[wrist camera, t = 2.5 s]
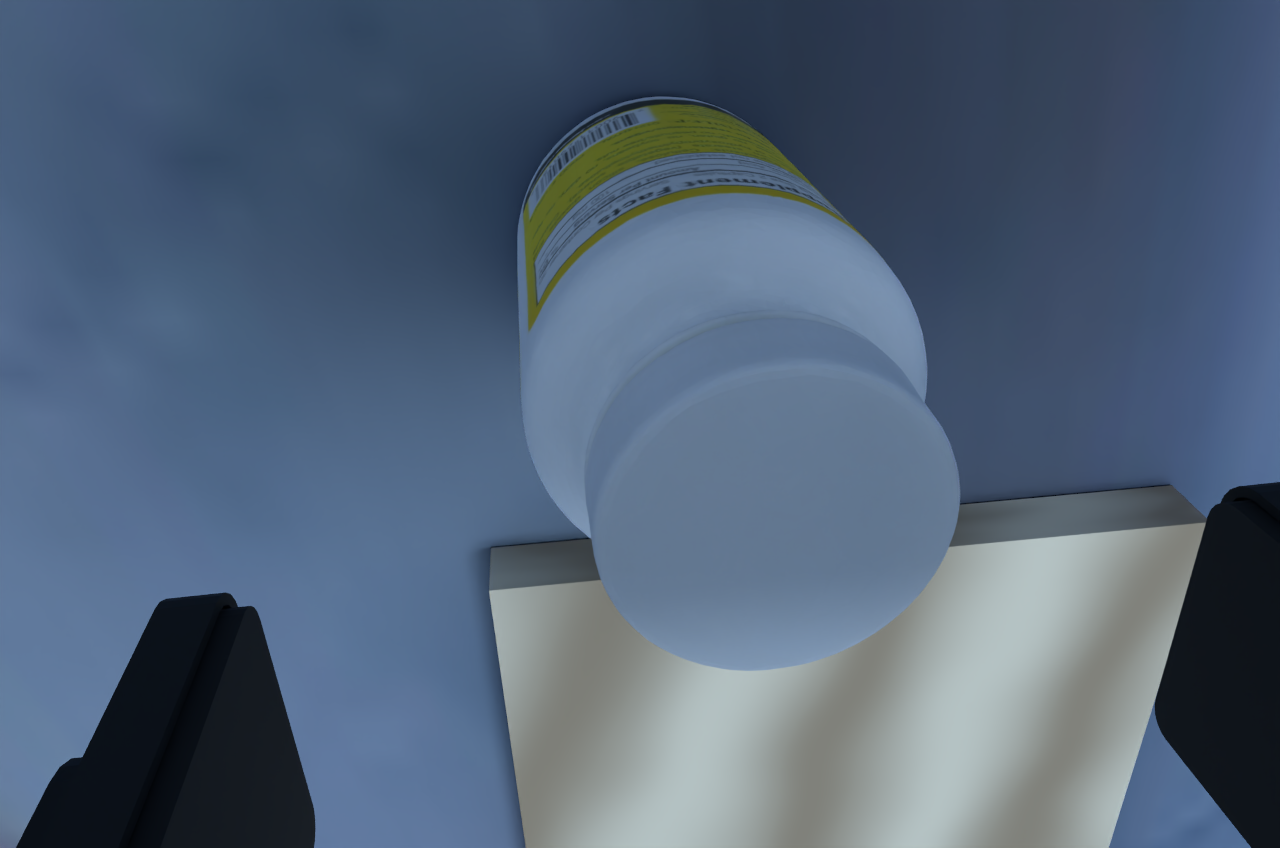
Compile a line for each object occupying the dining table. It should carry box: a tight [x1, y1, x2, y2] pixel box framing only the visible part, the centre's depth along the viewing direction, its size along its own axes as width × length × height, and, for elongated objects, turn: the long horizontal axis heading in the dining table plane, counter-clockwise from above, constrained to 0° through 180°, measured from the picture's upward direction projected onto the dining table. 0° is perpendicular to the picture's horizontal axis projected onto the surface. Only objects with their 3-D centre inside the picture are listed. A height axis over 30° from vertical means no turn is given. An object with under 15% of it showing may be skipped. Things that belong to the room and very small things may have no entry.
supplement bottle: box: [517, 96, 960, 671], centre depth 15 cm, size 5×5×10 cm
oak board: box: [489, 485, 1207, 848], centre depth 26 cm, size 16×16×2 cm
